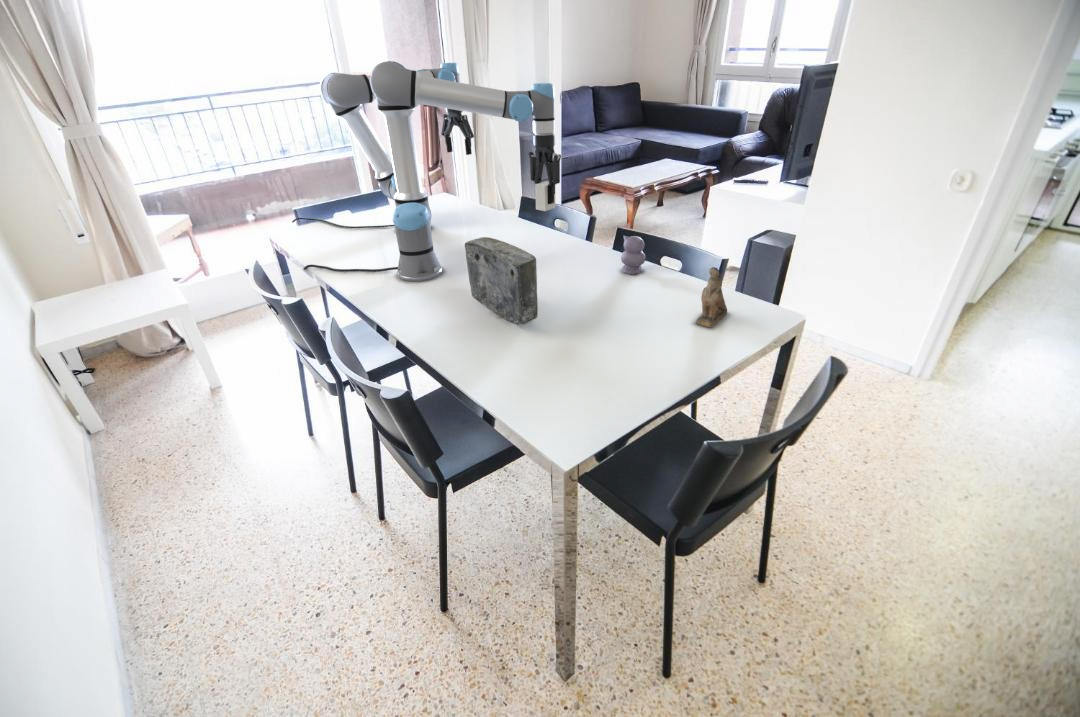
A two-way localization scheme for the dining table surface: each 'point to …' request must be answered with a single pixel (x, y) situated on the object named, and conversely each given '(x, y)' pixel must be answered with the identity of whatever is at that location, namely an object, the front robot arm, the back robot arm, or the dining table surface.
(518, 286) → the concrete block
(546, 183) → the white rectangular block
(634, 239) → the cat figurine
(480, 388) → the dining table surface
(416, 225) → the front robot arm
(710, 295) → the brown carved statuette
